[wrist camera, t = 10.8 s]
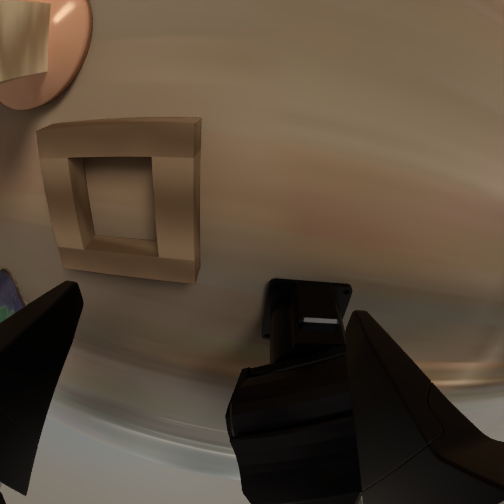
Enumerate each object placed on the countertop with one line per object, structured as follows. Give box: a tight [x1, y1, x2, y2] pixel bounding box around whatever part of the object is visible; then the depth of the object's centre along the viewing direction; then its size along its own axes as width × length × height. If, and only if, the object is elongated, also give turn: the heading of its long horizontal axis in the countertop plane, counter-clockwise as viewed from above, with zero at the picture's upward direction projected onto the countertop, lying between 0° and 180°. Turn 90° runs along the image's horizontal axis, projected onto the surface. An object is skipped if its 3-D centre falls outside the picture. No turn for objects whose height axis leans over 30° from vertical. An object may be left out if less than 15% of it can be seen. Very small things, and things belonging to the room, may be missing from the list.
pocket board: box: [36, 117, 201, 284], centre depth 20 cm, size 11×11×2 cm
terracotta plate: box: [0, 0, 93, 110], centre depth 13 cm, size 10×10×1 cm
